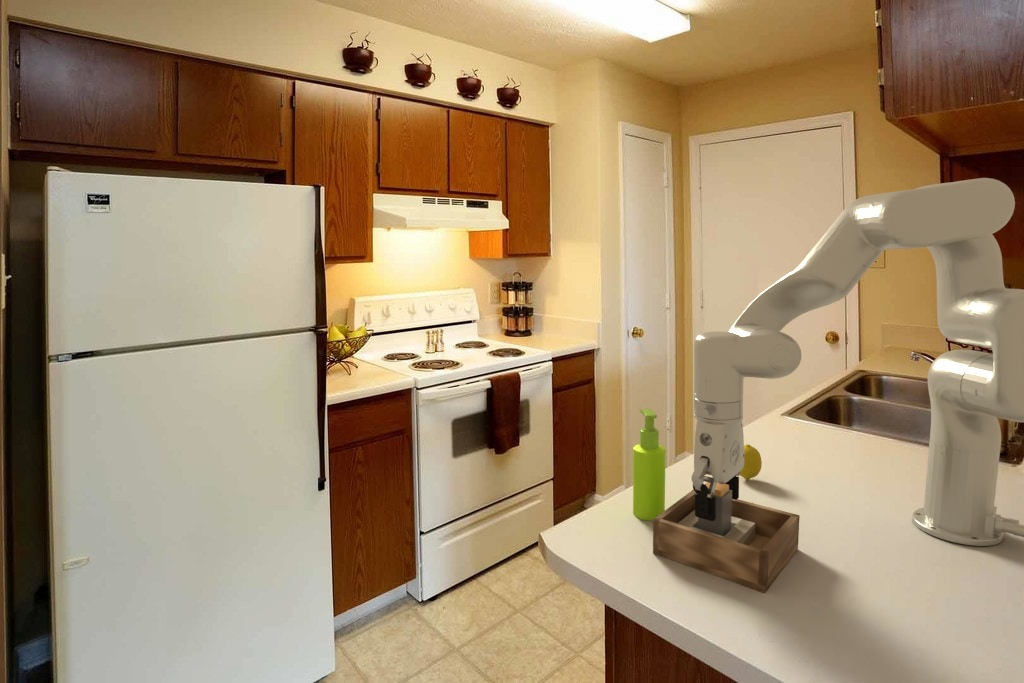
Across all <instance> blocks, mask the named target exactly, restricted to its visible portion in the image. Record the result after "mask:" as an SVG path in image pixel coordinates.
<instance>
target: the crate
mask: <svg viewBox="0 0 1024 683" xmlns="http://www.w3.org/2000/svg"><path fill="white" fill-rule="evenodd" d="M800 517H801V516H800V514H796V513H791V512H789V511H784V510H781V509H776V508H773V507H769V506H764V505H761V504H757V503H753V502H750V501H746V500H743V499H742V500H741V499H740V498H738V499H737V500H735V499H732V514H731V530H730V531H729V532H728V533H727V534H726V535H725V536H721V535H718V534H714V533H711V532H708V531H705V530H701V529H698V517H696V516H695V494H694V489H692V490H691V491H689V492H688V493H687V494H685V495H684V496H682V497H681V498H680V499H678V500H677V501H676V502H675V503H673V504H672V505H670V506H669V507H668V508H665V511H664V512H662V513H661V514H660V515H658V516H657V517H656V518H654V519H653V522H652V523H653V524H652V554H654V555H656V556H659V557H662V558H666V559H668V560H671V561H673V562H677V563H679V564H682V565H685V566H688V567H691V568H694V569H696V570H700V571H702V572H705V573H708V574H711V575H712V576H716V577H718V578H721V579H724V580H727V581H730V582H732V583H736V584H739V585H741V586H744V587H747V588H749V589H751V590H752V589H753V590H755V591H758V592H760V593H763V594H765V593H766V592H767V591H768V589H770V587H771V586H772V584H773V583H774V582H775V580H776V579H777V577H778V576H779V575H780V574H781V572H782V571H783V570H784V569H785V567H786V566H787V564H788V563H789V562H790V561H791V559H792V558H793V556H794V555H795V554H796V552H797V551H798V550H799V537H800V536H799V535H800V532H799V531H800Z"/></svg>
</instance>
